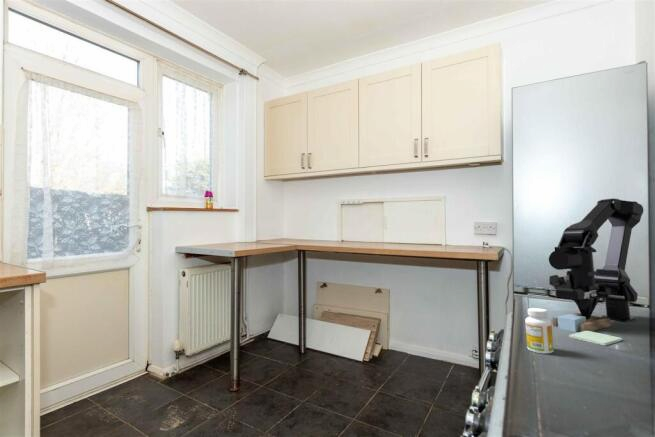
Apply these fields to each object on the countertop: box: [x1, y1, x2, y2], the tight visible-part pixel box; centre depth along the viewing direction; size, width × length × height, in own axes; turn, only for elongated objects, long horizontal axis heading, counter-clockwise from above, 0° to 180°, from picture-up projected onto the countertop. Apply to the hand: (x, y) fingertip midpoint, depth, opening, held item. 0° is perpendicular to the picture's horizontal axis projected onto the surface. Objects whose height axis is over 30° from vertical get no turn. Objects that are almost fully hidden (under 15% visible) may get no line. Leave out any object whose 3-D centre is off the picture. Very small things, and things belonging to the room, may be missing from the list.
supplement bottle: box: [524, 307, 555, 355], centre depth 78 cm, size 5×5×10 cm
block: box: [556, 313, 586, 333], centre depth 95 cm, size 6×4×4 cm
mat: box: [568, 331, 623, 346], centre depth 85 cm, size 8×8×1 cm
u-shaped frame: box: [552, 312, 612, 332], centre depth 96 cm, size 13×8×2 cm, turn 114°
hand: (586, 319), depth 97 cm, fingers closed
